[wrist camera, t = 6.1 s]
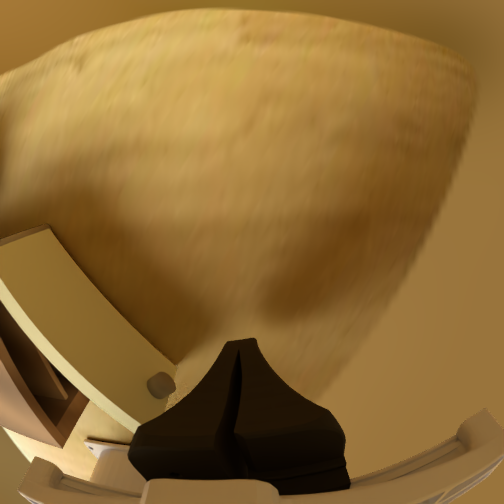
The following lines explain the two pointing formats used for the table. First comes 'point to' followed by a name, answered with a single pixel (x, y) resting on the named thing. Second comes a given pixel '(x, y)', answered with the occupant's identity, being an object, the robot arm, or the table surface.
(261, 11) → the table surface
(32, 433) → the cabinet
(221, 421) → the robot arm
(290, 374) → the table surface
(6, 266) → the door
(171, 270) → the table surface
